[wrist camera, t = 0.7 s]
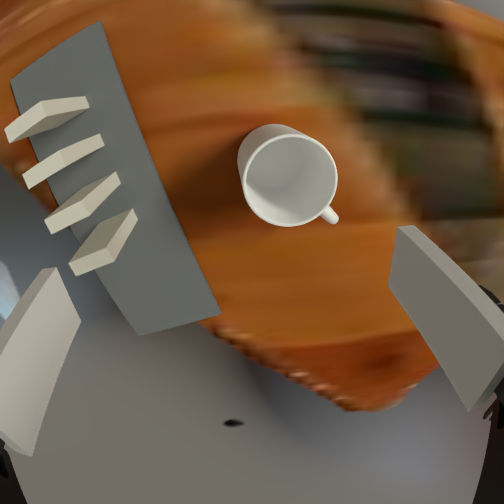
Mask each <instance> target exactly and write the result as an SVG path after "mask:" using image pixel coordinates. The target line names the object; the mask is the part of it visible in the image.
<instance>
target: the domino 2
mask: <svg viewBox="0 0 504 504" xmlns="http://www.w3.org/2000/svg"><path fill="white" fill-rule="evenodd" d="M103 146H105V145H104V143H103V140H102V138H101V135H100V134H97V135H94V136H92V137H89V138H87V139H84V140H82V141H79V142H77V143H75V144H72V145H70V146H68V147H65V148H63V149H61V150H59V151H57V152H56V153H54V154H52V155H51V156H49V157H48V158H46V159H45V160H43V161H42V162H40V163H38V164H37V165H35V166H34V167H33V168H31V169H30V170H28V171H27V172H25V173H24V174H22V175H23V177H24V180H25V182H26V184H27V186H28V189H30V188H32V187H33V186H35V185H36V184H38V183H39V182H41V181H43V180H44V179H46V178H47V177H49V176H51V175H52V174H54V173H56V172H57V171H59V170H61V169H63V168H64V167H66V166H68V165H69V164H71V163H73V162H75V161H77V160H78V159H80V158H82V157H84V156H86V155H88V154H89V153H91V152H93V151H95V150H97V149H99V148H101V147H103Z"/></svg>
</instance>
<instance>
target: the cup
mask: <svg viewBox="0 0 504 504" xmlns="http://www.w3.org/2000/svg"><path fill="white" fill-rule="evenodd" d="M237 164H238V170H239V174H240V179H241V183H242V188H243V192H244V196H245V199H246V201H247V203H248V205H249V206H250V208H251V209H252V211H253V212H254V213H255V214H256V215H257V216H259V217H260V218H261V219H263V220H265V221H266V222H268V223H271V224H274V225H278V226H285V227H290V226H298V225H302V224H305V223H307V222H310V221H312V220H313V219H315V218H316V217H318V216H319V215H320V216H321V217H322V218H323V219H325V220H326V221H327V222H329V223H330V224H336V223H337V222H338V219H339V218H338V216H337V214H336V213H335V212H334V211H333V210H332V208H331V207H330V206H329V204H330V203H331V201H332V199H333V197H334V194H335V191H336V187H337V169H336V165H335V162H334V160H333V158H332V156H331V154H330V153H329V152H328V150H327V149H326V148H325V147H324V146H323V145H322V144H320V143H319V142H318V141H316V140H314V139H312V138H310V137H308V136H307V135H305V134H303V133H301V132H299V131H297V130H295V129H293V128H290V127H288V126H285V125H280V124H268V125H264V126H261V127H258V128H256V129H255V130H253V131H252V132H250V133H249V134H248V135H247V136H246V137H245V139H244V140H243V142H242V143H241V145H240V148H239V151H238V157H237Z"/></svg>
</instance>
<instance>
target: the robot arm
mask: <svg viewBox="0 0 504 504" xmlns="http://www.w3.org/2000/svg"><path fill="white" fill-rule="evenodd" d="M388 287H389V289H390V290H391V292H392V293H393V294H394V296H395V297H396V299H397V300H398V301H399V303H400V304H401V306H402V307H403V309H404V310H405V311H406V313H407V314H408V316H409V317H410V319H411V320H412V322H413V323H414V325H415V326H416V328H417V329H418V331H419V332H420V334H421V335H422V337H423V338H424V340H425V341H426V343H427V344H428V346H429V348H430V349H431V351H432V352H433V354H434V355H435V357H436V359H437V360H438V362H439V363H440V365H441V367H442V368H443V370H444V371H445V373H446V375H447V376H448V378H449V379H450V381H451V383H452V385H453V387H454V388H455V390H456V391H457V393H458V395H459V397H460V399H461V400H462V402H463V404H464V405H465V407H466V409H467V411H468V412H469V411H471V410H473V409H475V408H477V407H479V406H481V405H483V404H485V403H486V401H487V400H488V399H489V397H490V396H491V395H492V393H493V392H495V393H496V395H497V399H496V400H495V401H494V402H493V404H492V405H491V406H490V407H489V409H488V410H487V411H486V412H485V414H484V416H483V419H486V418H487V417H488V415H489V414H490V413H491V412H492V411H493V413H492V416H491V418H490V419H489V420H490V421H491V427H490V433H489V439H488V444H487V450H486V455H485V459H484V464H483V468H482V472H481V476H480V480H479V483H478V487H477V490H476V494H475V497H474V500H473V504H504V305H503V304H501V302H500V301H499V300H498V299H497V298H496V296H495V295H494V294H493V293H492V292H490V291H489V290H487V289H485V288H484V287H482V286H481V285H477V284H476V283H475V282H474V281H473V280H472V279H471V278H470V277H469V276H468V275H467V274H466V273H465V272H464V271H463V270H462V269H461V268H460V267H459V266H458V265H457V264H456V263H455V262H454V261H453V260H452V259H451V258H449V257H448V256H447V255H446V254H445V253H444V252H443V251H442V250H441V249H440V248H439V247H438V246H437V245H435V244H434V243H433V242H432V241H431V240H430V239H429V238H428V237H427V236H425V235H424V234H423V233H422V232H421V231H420V230H419V229H417V228H416V227H415V226H414V225H410V226H400V227H397V234H396V240H395V247H394V253H393V259H392V265H391V270H390V276H389V281H388ZM80 322H81V320H80V318H79V316H78V314H77V312H76V310H75V308H74V306H73V303H72V302H71V299H70V297H69V295H68V293H67V290H66V288H65V286H64V284H63V282H62V279H61V277H60V275H59V272H58V270H57V267H54V268H47V269H42V270H41V272H40V273H39V274H38V276H37V277H36V278H35V280H34V281H33V282H32V284H31V285H30V286H29V288H28V289H27V291H26V292H25V293H24V295H23V296H22V298H21V299H20V300H19V302H18V303H17V305H16V306H15V308H14V309H13V311H12V312H11V314H10V315H9V317H8V318H7V320H6V321H5V323H4V325H3V326H2V328H1V329H0V504H27V502H26V499H25V497H24V495H23V492H22V490H21V487H20V485H19V482H18V479H17V477H16V474H15V471H14V469H13V466H12V462H11V460H10V457H9V454H8V452H7V451H6V450H5V449H4V445H5V443H6V444H7V445H8V446H10V447H11V448H12V449H13V450H14V451H16V452H18V453H21V454H25V455H28V456H32V455H33V451H34V447H35V444H36V440H37V437H38V433H39V430H40V427H41V424H42V420H43V417H44V414H45V411H46V408H47V405H48V402H49V400H50V397H51V394H52V391H53V388H54V386H55V383H56V380H57V377H58V375H59V372H60V370H61V367H62V365H63V362H64V360H65V357H66V355H67V352H68V350H69V348H70V345H71V343H72V341H73V338H74V336H75V334H76V331H77V329H78V327H79V325H80Z"/></svg>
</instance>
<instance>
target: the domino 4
mask: <svg viewBox="0 0 504 504" xmlns="http://www.w3.org/2000/svg"><path fill="white" fill-rule="evenodd" d="M137 221H138V219H137V217H136V214H135V212H134V210H133V208H132V209H130V210H127V211H125V212H123V213H120V214H118V215H116V216H113V217H111V218H109V219H106V220H104V221H102V222H100V223H99V224H98V225H97V226H96V228H95V229H94V230H93V231H92V233H91V234H90V235H89V236H88V238H87V239H86V240H85V242H84V243H83V244H82V245H81V247H80V248H79V249H78V251H77V252H76V253H75V255H74V256H73V257H72V259H71V260H70V262H69V263H68V264H69V266H70V267H71V269H72V270H73V272H74V274H75V275H76V276H78V275H80V274H83V273H86V272H88V271H91V270H93V269H96V268H99V267H101V266H104V265H107V264H109V263H112V262H114V261H115V260H116V258H117V256H118V254H119V252H120V250H121V249H122V247H123V245H124V243H125V241H126V240H127V238H128V236H129V234H130V233H131V231H132V229H133V227H134V226H135V224H136V222H137Z"/></svg>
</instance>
